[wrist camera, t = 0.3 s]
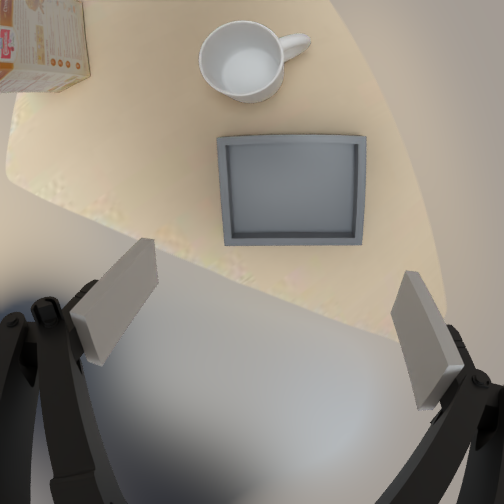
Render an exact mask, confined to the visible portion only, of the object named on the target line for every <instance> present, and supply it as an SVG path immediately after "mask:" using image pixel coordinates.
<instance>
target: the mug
mask: <svg viewBox="0 0 504 504" xmlns="http://www.w3.org/2000/svg"><path fill="white" fill-rule="evenodd" d="M310 44H311V39H310V37H309V36H308V35H306V34H303V33H296V34H291V35H287V36H283V37H280V38H278V37H277V36H276V35H275V33H274V32H273V31H271V30H270V29H269V28H267V27H266V26H264V25H262V24H260V23H257V22H253V21H245V20H242V21H233V22H229V23H226V24H224V25H222V26H220V27H218V28H217V29H215V30H214V31H213V32H211V33H210V34H209V35H208V37H207V38H206V39H205V41H204V42H203V44H202V46H201V49H200V53H199V67H200V71H201V73H202V76H203V77H204V79H205V80H206V82H207V83H208V84H209V85H210V86H211V87H213V88H214V89H215V90H217V91H219V92H221V93H223V94H225V95H227V96H229V97H230V98H232V99H234V100H237V101H239V102H243V103H257V102H261V101H264V100H266V99H268V98H270V97H271V96H273V95H274V94H275V93H276V92H277V91H278V89H279V88H280V86H281V84H282V81H283V78H284V62H286V61H288V60H290V59H292V58H294V57H296V56H297V55H299V54H301V53H302V52H304V51H305V50H306V49H307V48H308V47H309V46H310Z"/></svg>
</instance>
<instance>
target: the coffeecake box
mask: <svg viewBox="0 0 504 504" xmlns="http://www.w3.org/2000/svg"><path fill="white" fill-rule="evenodd" d="M88 77H90V71H89V64H88V56H87V49H86V40H85V31H84V21H83V9H82V3H81V2H78V1H76V0H0V93H14V92H15V93H17V92H61V91H63V90H65V89H67V88H68V87H70V86H72V85H74V84H76V83H78V82H80V81H82V80H84V79H86V78H88Z"/></svg>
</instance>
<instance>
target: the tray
mask: <svg viewBox="0 0 504 504" xmlns="http://www.w3.org/2000/svg"><path fill="white" fill-rule="evenodd" d="M217 151H218V166H219V180H220V194H221V207H222V220H223V232H224V244H225V246H285V245H362V237H363V223H364V207H365V186H366V136H356V135H329V134H274V135H246V136H228V137H218V138H217Z"/></svg>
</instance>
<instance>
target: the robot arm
mask: <svg viewBox="0 0 504 504" xmlns="http://www.w3.org/2000/svg"><path fill="white" fill-rule="evenodd" d="M157 284H158V275H157V265H156V256H155V244H154V239H147V238H141V239H140V240H139V241H138V242H137V243H135V245H133V246H132V247H131V248H130V249H129V251H127V252H126V253H125V254H124V255H123V256H122V257H121V258H120V259H119V260H118V261H117V262H116V263H115V264H114V265H113V266H112V267H111V268H110V269H109V271H107V272H106V274H104V276H103V277H102V278H101V279H100V280H93V281H91V282H89V283H88V284H86V285H85V286H84V287H83V288H82V289H81V290H80V292H78V293H77V294H76V295H75V297H73V298H72V299H71V300H70V301H69V302H68V304H67V305H66V306H65V307H64V308H63V309H62V310H61V307H60V304H59V301H58V299H56V298H54V297H44V298H41V299H39V300H37V301H36V302H35V303H34V304H33V305H32V307H31V312H32V315H33V317H34V320H35V322H27V321H26V319H25V317H24V315H23V314H22V313H20V312H13V313H10V314H8V315H7V316H5V317H4V318H3V320H2V321H1V323H0V504H30V483H31V482H30V481H31V457H32V443H33V432H34V423H35V415H36V407H37V401H38V395H39V389H40V398H41V407H42V415H43V422H44V429H45V434H46V440H47V446H48V451H49V455H50V460H51V465H52V469H53V474H54V478H53V479H51V480H50V490H51V493H52V497H53V501H54V504H128V503H127V502H126V500H125V499H124V497H123V495H122V493H121V490H120V488H119V485H118V483H117V480H116V478H115V476H114V473H113V470H112V467H111V465H110V463H109V460H108V457H107V454H106V451H105V448H104V445H103V442H102V439H101V435H100V433H99V429H98V426H97V423H96V419H95V416H94V412H93V408H92V404H91V401H90V397H89V393H88V388H87V384H86V380H85V376H84V371H83V366H82V362H81V360H80V357H81V356H82V354H83V353H85V355H86V358H87V360H88V362H91V363H94V364H97V365H100V366H102V365H103V364H104V362H105V361H106V359H107V358H108V356H109V355H110V353H111V352H112V350H113V349H114V347H115V346H116V344H117V343H118V341H119V340H120V338H121V336H122V335H123V334H124V332H125V331H126V329H127V328H128V326H129V325H130V323H131V322H132V320H133V319H134V317H135V316H136V314H137V313H138V312H139V310H140V308H141V307H142V306H143V304H144V303H145V301H146V300H147V299H148V297H149V296H150V294H151V293H152V292H153V290H154V289H155V287H156V286H157ZM391 316H392V319H393V322H394V325H395V328H396V332H397V335H398V338H399V341H400V345H401V348H402V352H403V355H404V358H405V362H406V365H407V369H408V373H409V377H410V380H411V384H412V388H413V392H414V396H415V400H416V405H417V409H418V411H419V410H433V409H434V408H435V406H436V405H437V404H438V402H439V401H440V404H441V407H442V409H441V410H440V411H439V412H438V414H437V415H436V416H435V417H434V418H433V420H432V421H431V422H430V423H431V426H430V428H429V429H428V431H427V432H426V434H425V436H424V437H423V439H422V440H421V442H420V443H419V445H418V446H417V448H416V449H415V451H414V452H413V454H412V455H411V457H410V458H409V460H408V461H407V463H406V464H405V465H404V467H403V468H402V470H401V471H400V472H399V474H398V475H397V476H396V478H395V479H394V480H393V482H392V483H391V484H390V485H389V487H388V488H387V489H386V490H385V492H384V493H383V494H382V496H381V497H380V498H379V499H378V500H377V501H376V503H375V504H438V503H439V502H440V500H441V498H442V497H443V495H444V493H445V492H446V490H447V488H448V486H449V485H450V483H451V481H452V479H453V477H454V475H455V473H456V472H457V470H458V467H459V466H460V464H461V462H462V460H463V458H464V455H465V453H466V451H467V449H468V447H469V445H470V442H471V445H470V450H469V455H468V460H467V465H466V469H465V474H464V478H463V482H462V486H461V490H460V493H459V497H458V500H457V503H456V504H504V386H501V385H497V384H493V383H491V380H490V378H489V377H488V375H487V374H486V373H484V372H483V371H481V370H478V369H476V368H475V366H474V364H473V361H472V359H471V357H470V355H469V353H468V351H467V349H466V348H465V347H466V346H465V345H464V342H462V338H461V336H460V334H459V332H458V331H457V330H456V329H455V328H454V327H453V326H452V325H446V324H445V322H444V320H443V318H442V316H441V314H440V312H439V310H438V308H437V306H436V304H435V302H434V300H433V298H432V296H431V294H430V292H429V291H428V289H427V287H426V285H425V283H424V281H423V280H422V278H421V276H420V274H419V273H418V272H414V271H405V274H404V277H403V280H402V283H401V286H400V288H399V291H398V294H397V297H396V300H395V303H394V305H393V308H392V311H391Z"/></svg>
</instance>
